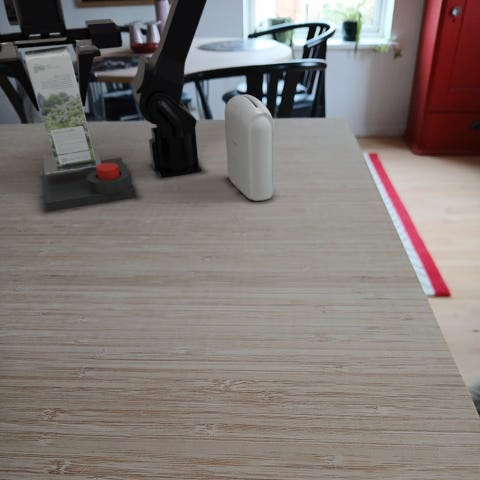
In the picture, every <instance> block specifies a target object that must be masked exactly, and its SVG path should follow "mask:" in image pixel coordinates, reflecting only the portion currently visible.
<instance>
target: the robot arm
mask: <svg viewBox="0 0 480 480" xmlns="http://www.w3.org/2000/svg"><path fill="white" fill-rule="evenodd" d="M2 1H3V6H4V10H5V15H6V18H7V21H8V24H9V25H10V27H16V26H19V31H16V32H3V33H1V31H0V66H5V67H6V68H7V69H8V70H9V72H10V73H11V74H12V76H13V77H15V80H16V81H17V82H18V83H19V84H20V86H21V88H22V89H23V91H24V93H25V94H26V96H27V97H28V99H29V100H30V102H31V103H32V105H33V107H34V109H35V110H36V111H37V112H40V110H39V106H38V103H37V99H36V96H35V92H34V89H33V86H32V82H31V79H30V76H29V72H28V69H27V66H26V62H25V59H24V57H23V55H22V51H19V49H28V48H29V49H30V48H42V47H44V48H45V47H54V46H56V47H57V46H68V45H76V46H75V47H74V48H75V59H76V69H77V79H78V89H79V94H80V98H81V102H82V106H83V108H84V107H86V103H87V95H88V87H89V80H90V75H91V72H92V71H91V70H92V67H93V64H94V61H95V60H94V59H95V58H99V57H102V52H101V50H105V49H106V50H107V49H116V48H117V49H119V48H122V47H123V41H122V34H121V30H120V26H119V25H118V24H116V22H115V21H113V20H112V19H111V18H104V19H88V20H84V23H85V27H84V26H83V27H70V28H67V22H66V17H65V13H64V8H63V3H62V0H2ZM207 1H208V0H172V1H171V4H170V8H169V10H168V13H167V17H166V19H165V23H164V26H163V28H162V31H161V34H160V38H159V41H158V44H157V47H156V48H155V51H154V52H153V53H152V55H151V56H150V58H149V59H147V58H145V57H144V56H142V55H140V56H139V57H138V63H137V69H136V73H135V76H134V77H133V79H131V81H130V84H131V86H132V88H133V99H134V102H135V104H136V106H137V108H138V110H139V112H140V114H141V116H142V117H143V118H144V119H145V120H146V121H147V122H149V123H150V124H152V125H155V127H151V128H150V133H151V138H149V139H148V144H149V151H150V152H149V153H150V160H151V165H152V167H153V169H154V170H155V171H157V173H158V175H159V177H160V178H167V177H175V176H182V175H188V174H189V175H190V174H196V173H201V172H202V171H203V169H202V166H201V165H200V163H199V154H198V153H199V152H198V142H197V141H198V140H197V129H196V126H197V122H198V121H197V119H196V117H195V116H194V115H193V113H192V112H191V111H190V110H189V109H188V108H187V106H186V105H185V104H184V103H183V102H182V98H183V97H182V96H183V91H184V85H185V84H184V83H185V82H184V81H185V67H186V61H187V58H188V55H189V53H190V49H191V46H192V44H193V41H194V38H195V36H196V32H197V30H198V27H199V25H200V21H201V19H202V15H203V12H204V10H205V7H206V5H207Z"/></svg>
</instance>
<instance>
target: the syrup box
mask: <svg viewBox="0 0 480 480" xmlns="http://www.w3.org/2000/svg"><path fill="white" fill-rule="evenodd" d="M23 60H24V63H25V66H26V69H27V71H28V74H29V77H30V79H31V82H32V86H33V89H34V92H35V96H36V99H37V103H38V106H39V110H40V111H39V113H40V117H41V119H42V123H43V126H44V130H45V133H46V136H47V140H48V143H49V147H50V149H51V153H52V155H53V157H54V160H55V163H56V166H57V167H61V166H67V165H73V164H79V163H85V162H90V161H95V155H94V151H93V149H94V146H93V143H92V142H93V141H92V138H91V134H90V130H89V126H88V122H87V119H86V114H85V109H84V107H83V106H82V102H81V98H80V93H79V84H78V82H77V77H76V74H75V69H74V65H73V61H72V56H71V53H70V49H69V47H68V45H62V46H56V47H50V48H40V49H33V50H26V51H24V57H23Z"/></svg>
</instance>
